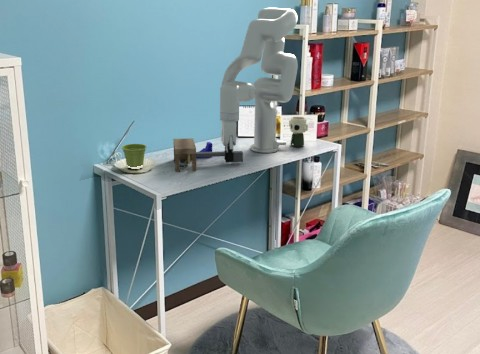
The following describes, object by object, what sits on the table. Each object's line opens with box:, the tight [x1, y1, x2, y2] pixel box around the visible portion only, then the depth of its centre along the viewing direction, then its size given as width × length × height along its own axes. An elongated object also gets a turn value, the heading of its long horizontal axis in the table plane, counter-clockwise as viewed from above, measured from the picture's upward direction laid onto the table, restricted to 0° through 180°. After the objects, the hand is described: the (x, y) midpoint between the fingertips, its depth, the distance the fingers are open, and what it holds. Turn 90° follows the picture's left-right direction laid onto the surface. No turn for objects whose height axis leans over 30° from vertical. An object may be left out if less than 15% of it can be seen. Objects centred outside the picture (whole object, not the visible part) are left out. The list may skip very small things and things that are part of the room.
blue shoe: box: [196, 141, 213, 160], centre depth 229 cm, size 12×4×6 cm, turn 111°
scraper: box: [188, 150, 244, 166], centre depth 220 cm, size 22×5×4 cm, turn 100°
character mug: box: [288, 115, 309, 147], centre depth 247 cm, size 11×7×13 cm, turn 43°
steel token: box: [179, 159, 189, 168], centre depth 218 cm, size 5×5×2 cm
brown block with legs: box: [172, 137, 197, 172], centre depth 217 cm, size 8×15×9 cm, turn 9°
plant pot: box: [121, 143, 147, 167], centre depth 213 cm, size 9×9×9 cm
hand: (228, 160), depth 221 cm, fingers closed on scraper, 2 cm apart
